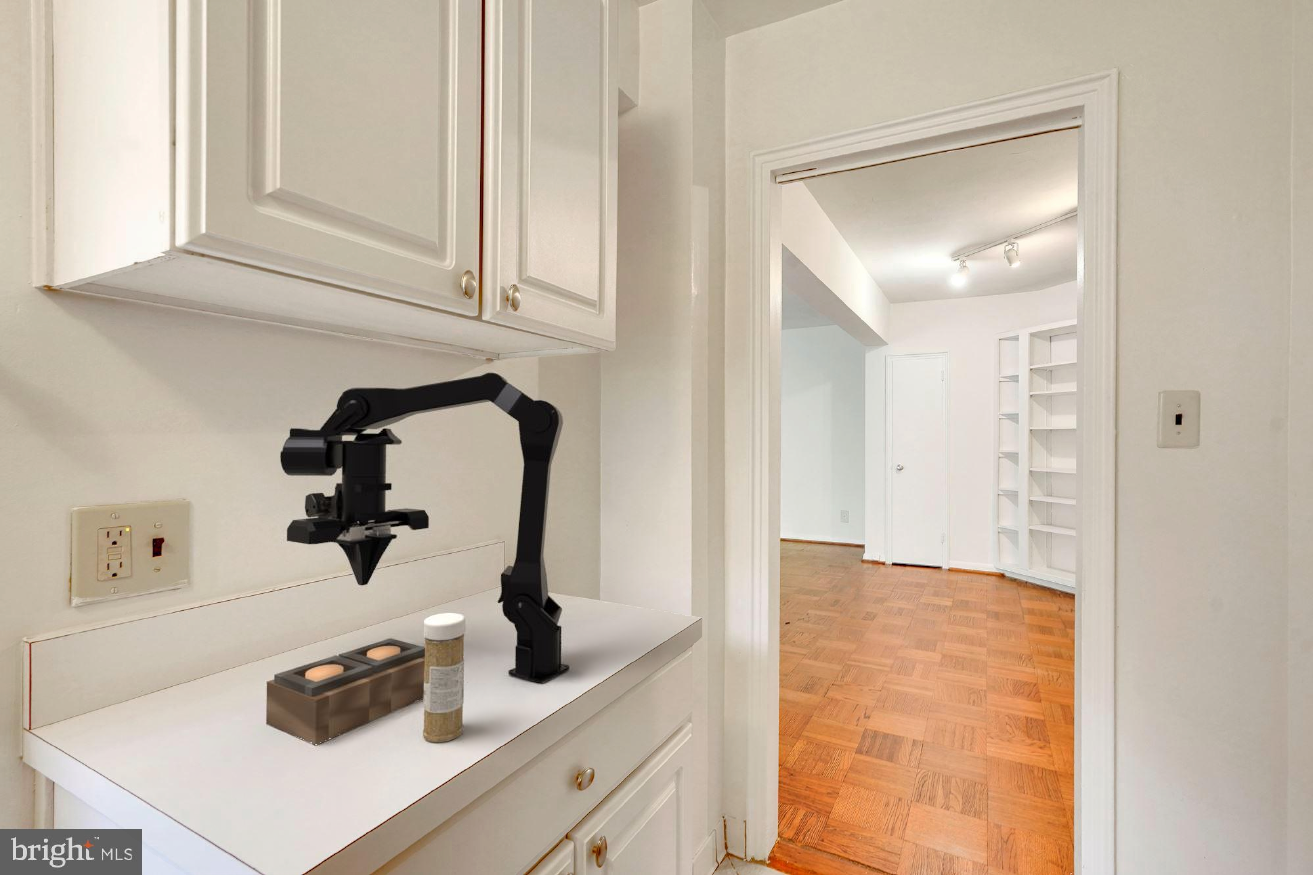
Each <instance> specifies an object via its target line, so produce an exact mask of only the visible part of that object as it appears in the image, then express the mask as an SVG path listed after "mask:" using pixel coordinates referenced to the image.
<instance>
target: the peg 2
mask: <svg viewBox="0 0 1313 875" xmlns="http://www.w3.org/2000/svg"><path fill="white" fill-rule="evenodd" d="M399 653H400V648H399V647H396V646H383V647H377V648H374V649H371V650H369V651H368V652H367V657H369V658H372V659H376V660H381V659H384V658H387V657H390V656H393V655H396V654H399Z"/></svg>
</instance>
